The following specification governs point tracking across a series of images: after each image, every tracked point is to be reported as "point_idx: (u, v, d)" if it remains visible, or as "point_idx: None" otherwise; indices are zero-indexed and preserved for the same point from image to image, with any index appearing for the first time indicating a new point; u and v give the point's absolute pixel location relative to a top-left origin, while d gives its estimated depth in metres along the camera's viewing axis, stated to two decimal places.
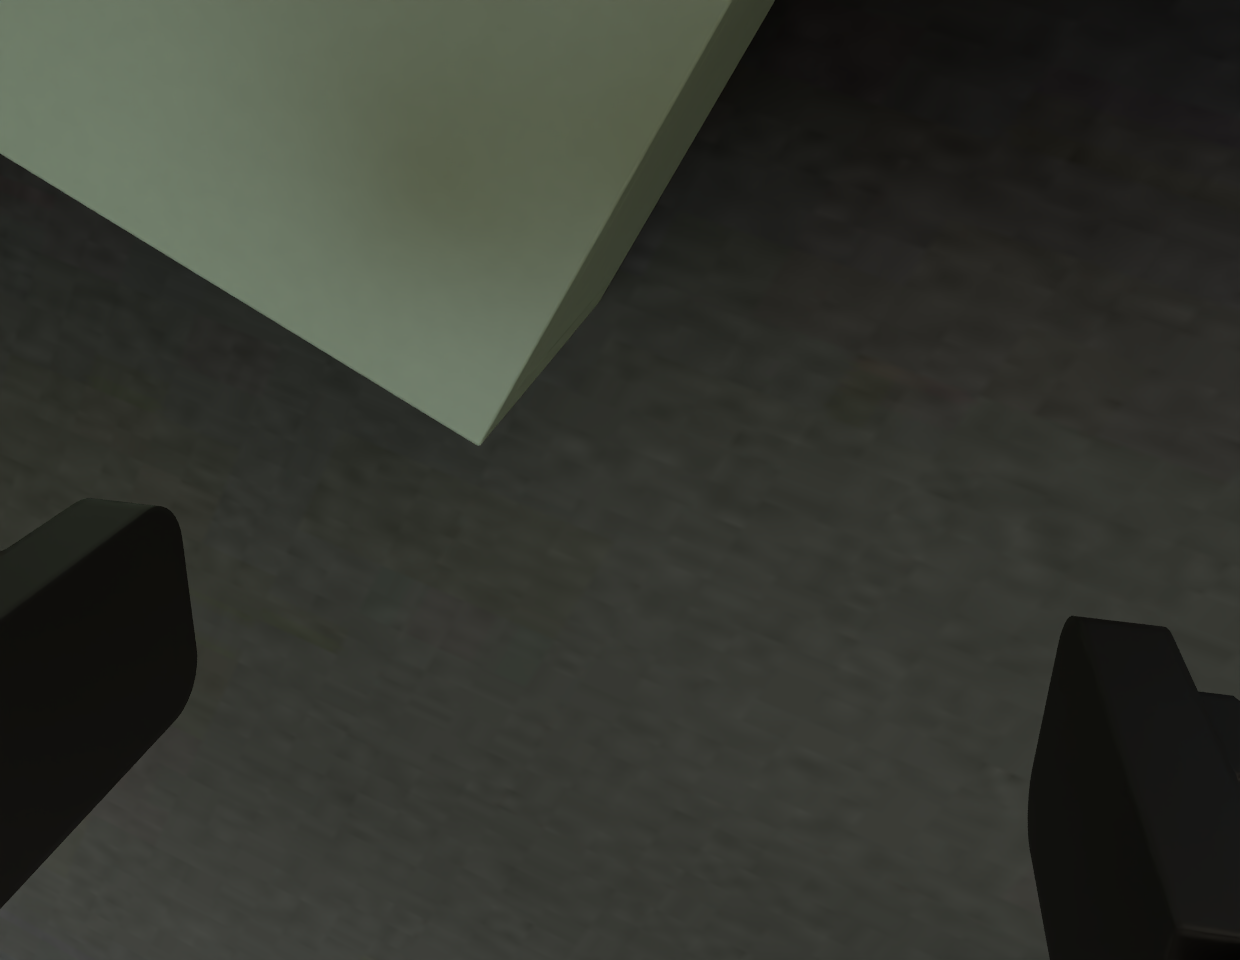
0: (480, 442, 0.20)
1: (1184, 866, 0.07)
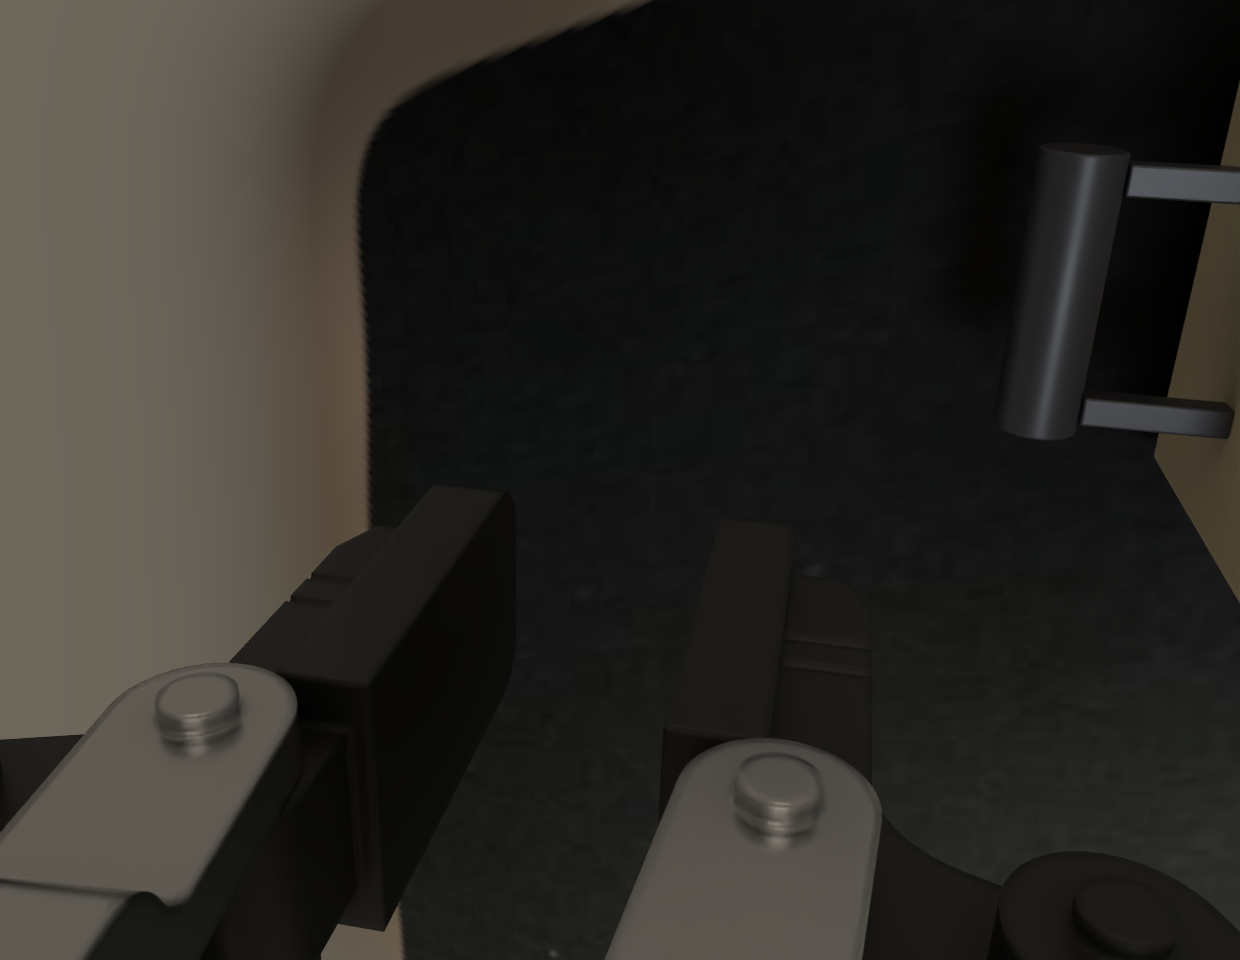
0: None
1: (698, 686, 0.08)
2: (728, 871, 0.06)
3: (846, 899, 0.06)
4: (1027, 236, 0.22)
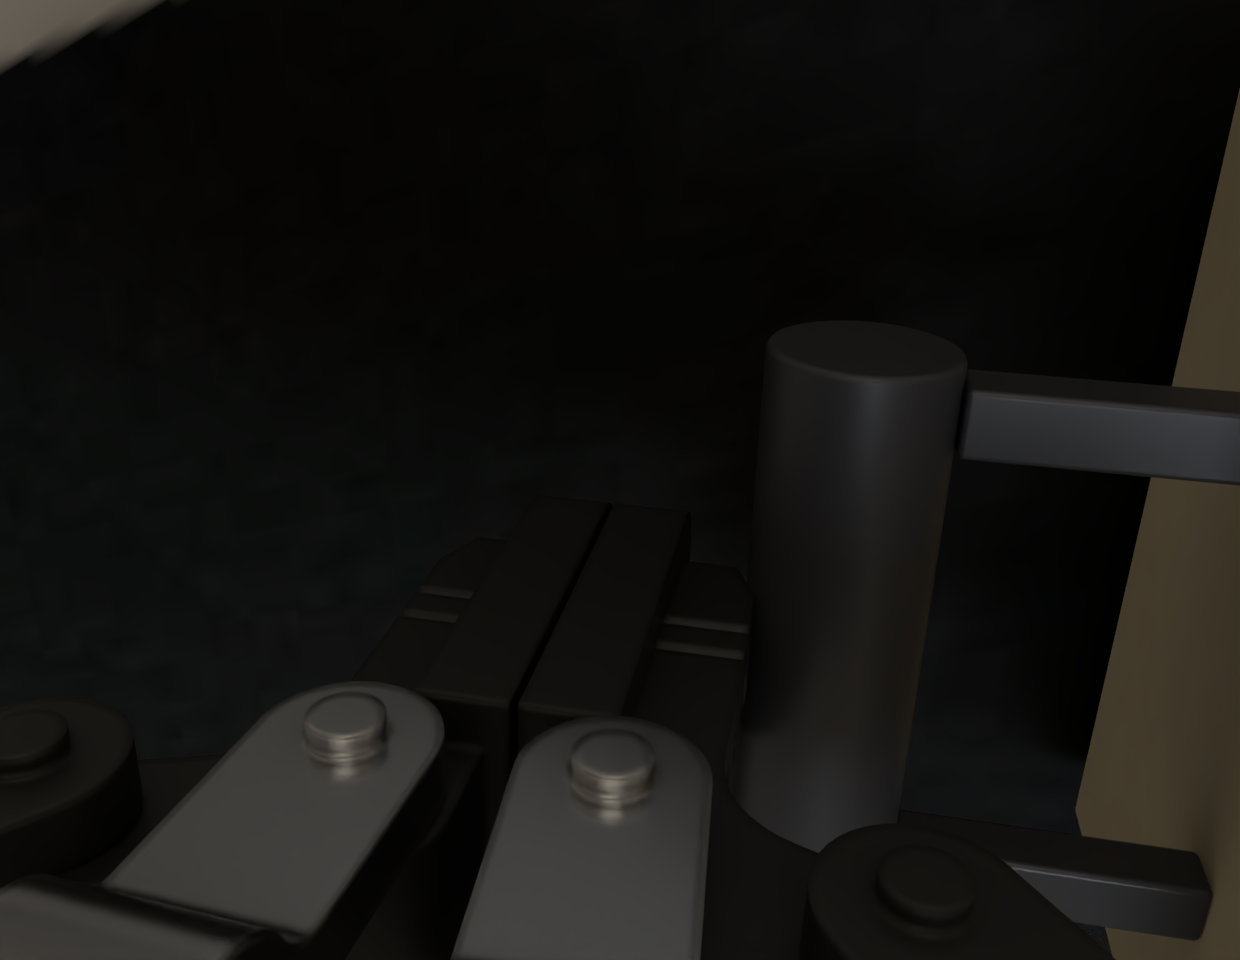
0: None
1: (559, 667, 0.08)
2: (569, 848, 0.06)
3: (684, 861, 0.06)
4: (752, 528, 0.10)
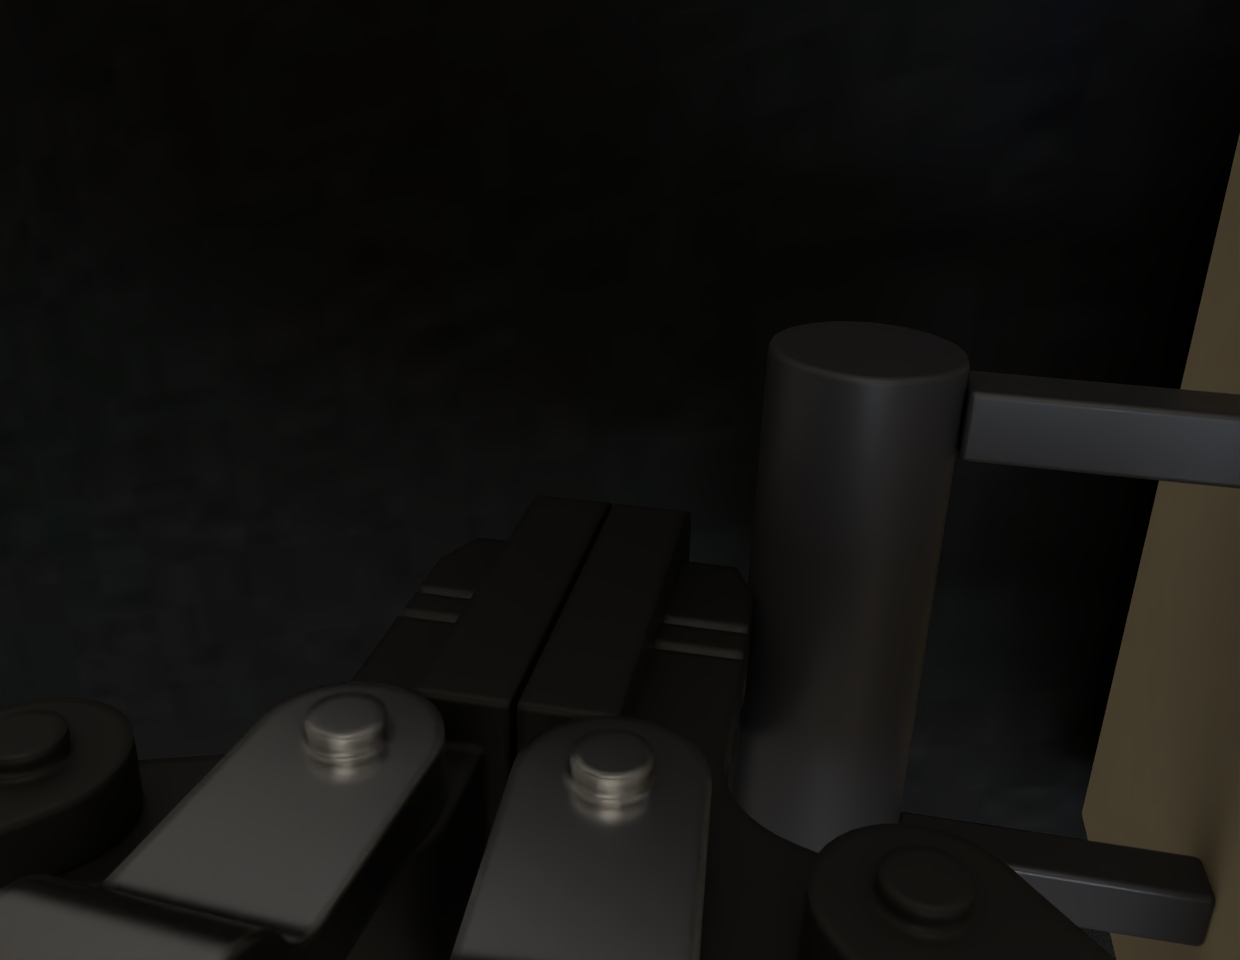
0: None
1: (558, 667, 0.08)
2: (569, 849, 0.06)
3: (684, 862, 0.06)
4: (754, 529, 0.10)
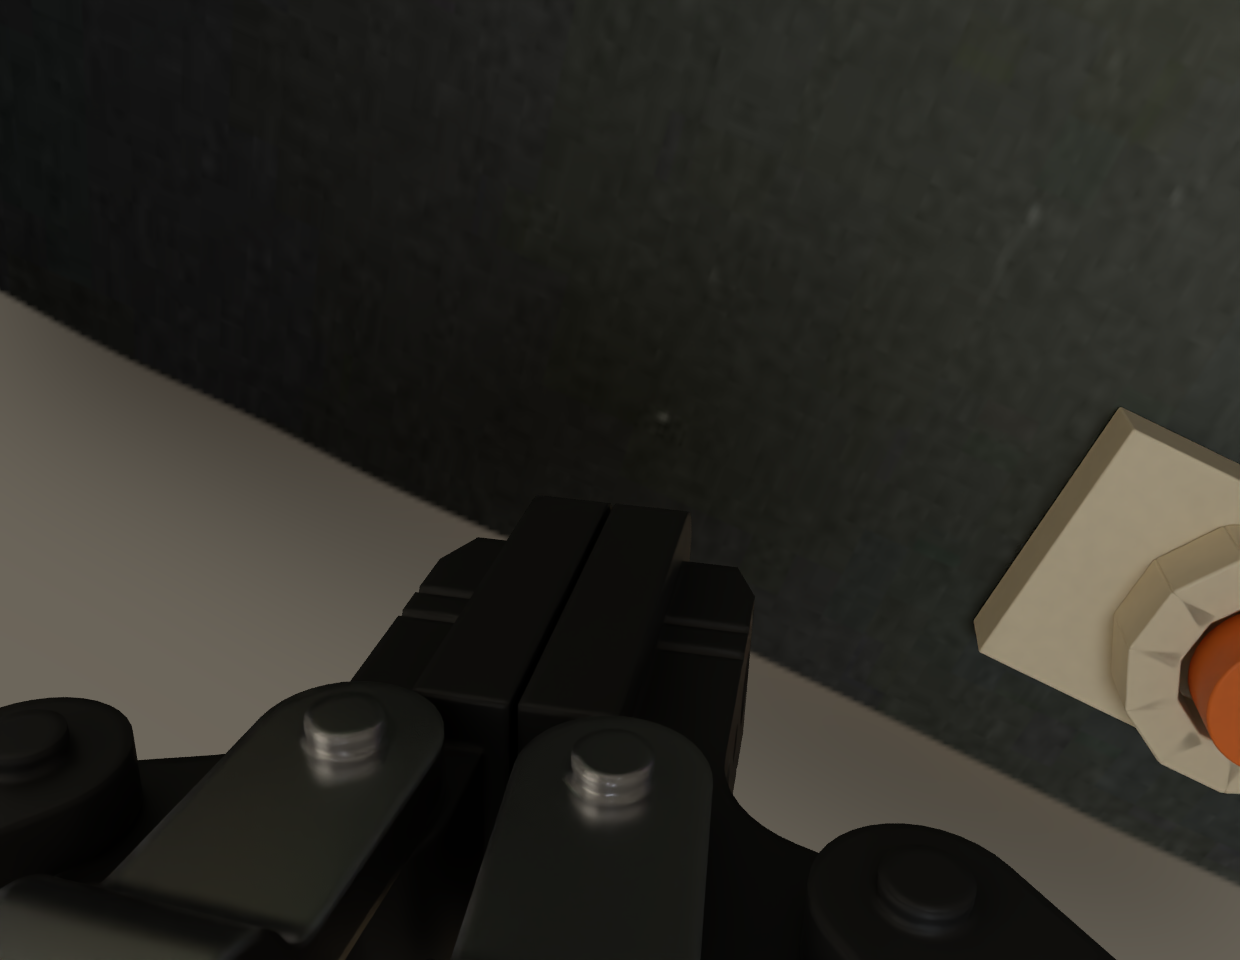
0: None
1: (559, 667, 0.08)
2: (570, 848, 0.06)
3: (684, 861, 0.06)
4: None
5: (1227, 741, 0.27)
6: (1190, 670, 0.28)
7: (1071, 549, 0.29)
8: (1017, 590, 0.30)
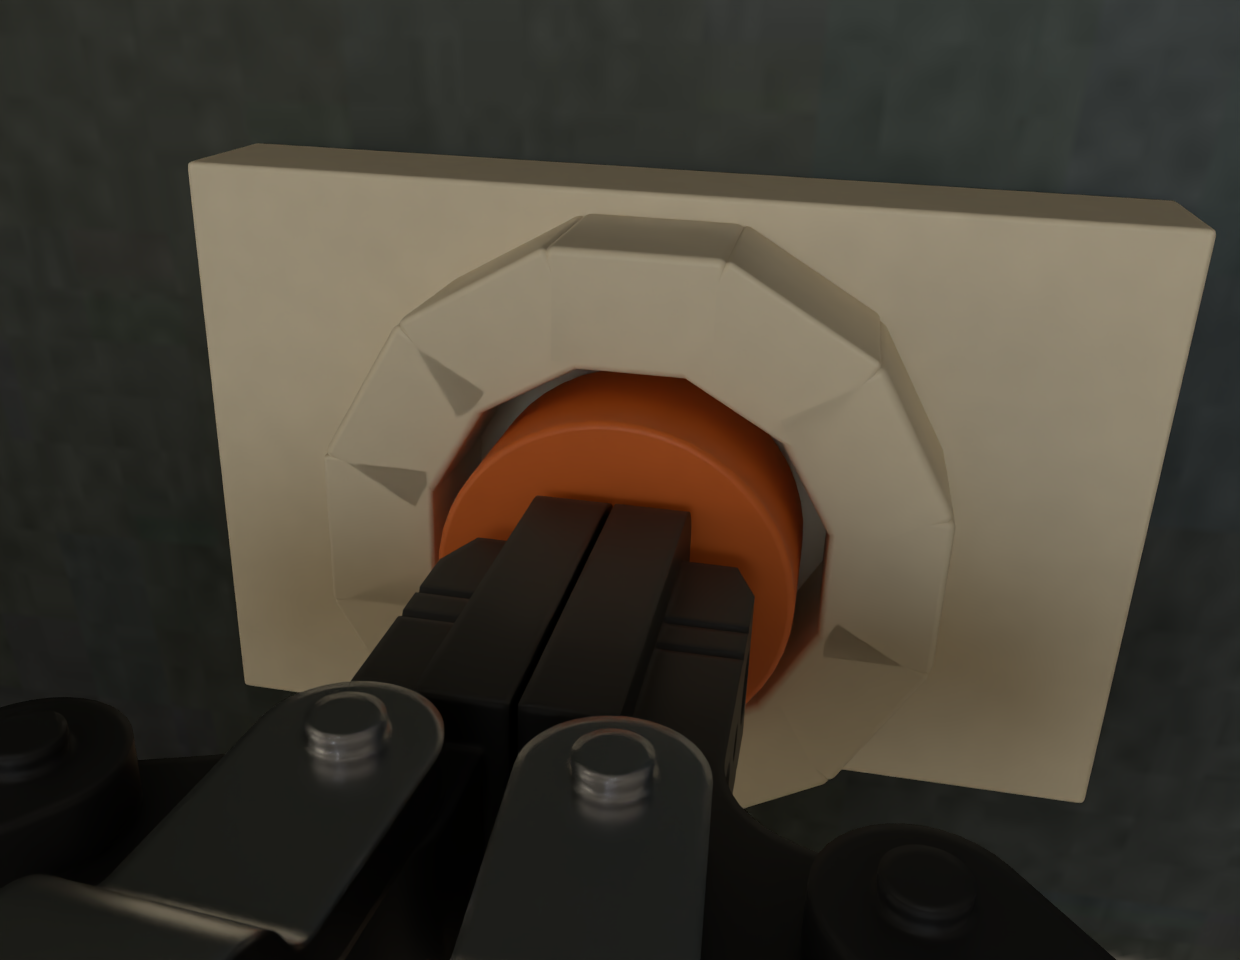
0: None
1: (559, 667, 0.08)
2: (569, 848, 0.06)
3: (684, 861, 0.06)
4: None
5: None
6: None
7: (248, 441, 0.15)
8: (238, 552, 0.16)
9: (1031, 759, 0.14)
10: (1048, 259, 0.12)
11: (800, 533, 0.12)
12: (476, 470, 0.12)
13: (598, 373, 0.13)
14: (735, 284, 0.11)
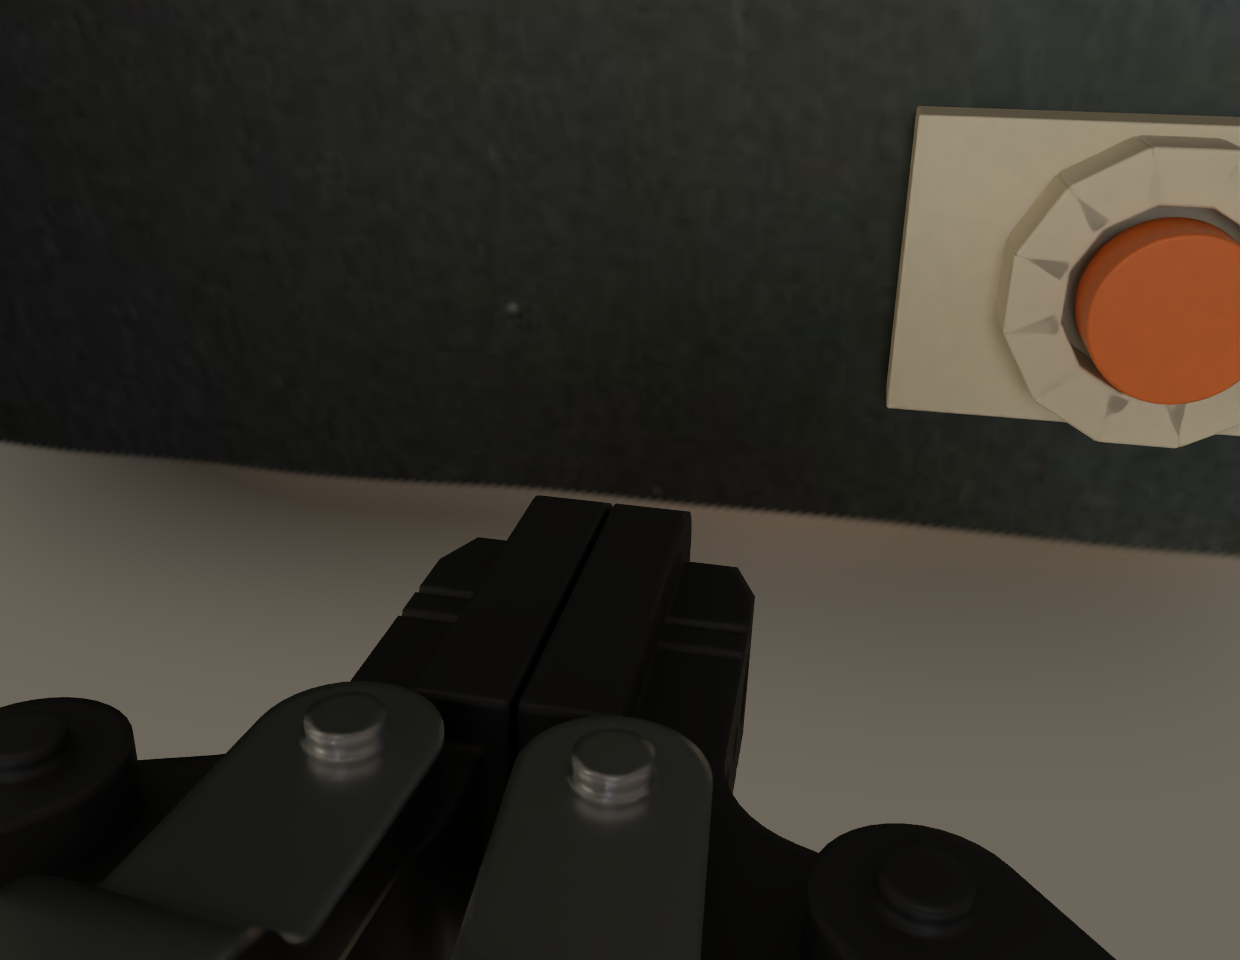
0: None
1: (559, 667, 0.08)
2: (570, 848, 0.06)
3: (685, 862, 0.06)
4: None
5: (1129, 381, 0.25)
6: (1079, 330, 0.26)
7: (921, 264, 0.28)
8: (894, 330, 0.29)
9: None
10: None
11: None
12: (1118, 262, 0.24)
13: (1155, 219, 0.25)
14: None
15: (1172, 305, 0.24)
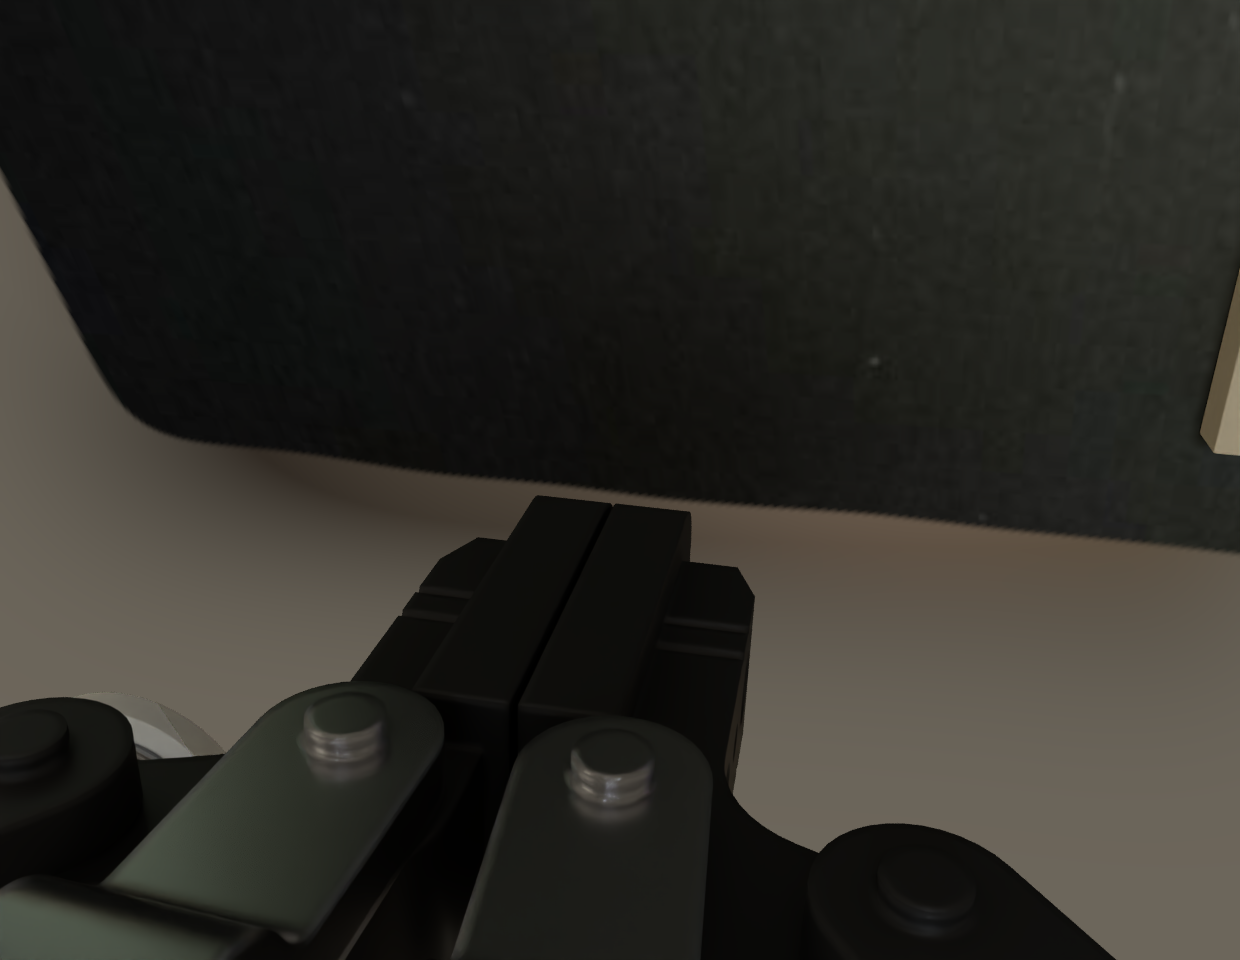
0: None
1: (559, 667, 0.08)
2: (570, 848, 0.06)
3: (684, 861, 0.06)
4: None
5: None
6: None
7: None
8: (1226, 389, 0.35)
9: None
10: None
11: None
12: None
13: None
14: None
15: None
